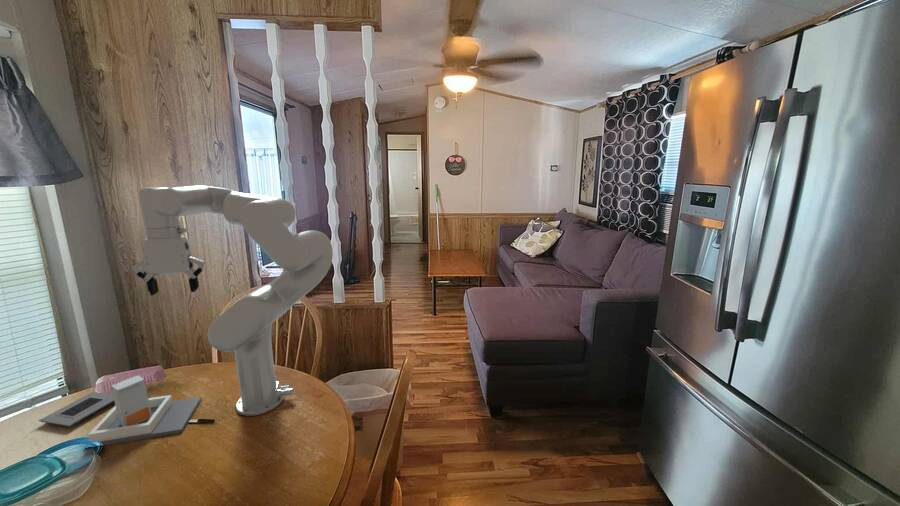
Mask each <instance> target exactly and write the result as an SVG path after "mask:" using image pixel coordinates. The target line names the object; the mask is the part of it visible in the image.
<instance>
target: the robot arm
mask: <svg viewBox="0 0 900 506" xmlns="http://www.w3.org/2000/svg"><path fill="white" fill-rule="evenodd" d="M137 194H138V199H139V204H140V205H139V206H140V210H141V215H142V221H143V225H144V231H145V236H146V238H144V243H143V258H144V259H143V260H141V261H140V262H137V263H136V264H133V265H132V266H131V267H130V268H131V269H132V270H133V272H135V274H136V276H138V277H139V278H140V279H142V280H143V281H144V282H146V286H147V290H148V292H149V295H150V296H155V294H157V293H159V286H158V280H157V278H155V276H158V275H171V274H172V275H173V274H183V273H184V274H186V275H187V276H188V277H189V278H188V285H189V289H190V293H194V292H196V291H197V290H198V289H199V287H200V283H199V277H198V276H199V275H200V274H201V273H202V272H203V271H204V269H205V266H206V264H207V261H206V260H202V259H200V258H197V257H194V256H193V254H192V253H193V252H192V249H191V247H190V244H189V241H188V239H187V237H186V235H183V234H186V233H187V231H188V230H187V228H186V227H182V225H181V224H180V219H179V217H185V216H191V215H198V214H202V213H213V214H220V215H223V217H224V219H225V220H226V221H227V222H228V223H230V224H231V225H236V226H242V227H243V229H244V230H245V232H246V233H247V234H248V235H249V237H250V238H251V239H252V240H253V242H255V243H256V244H257V246H258V247H260V249H261V250H262V251H263V252H264V253H265V254H266V255H267V256H268V258H270V259H271V261H273V263H274V264H275V265H277V266H278V267H279V268H281V269H282V270H284V271H283V272H282V273H280V274H279V275H278V276H277V277H276V278H274V279H273V280H272V281H270V282H269V283H267V284H264V285H263V286H260V287H259V288H257V289H255V290H253V291H251V292H249V293H248V294H245V295H244V296H242V297H241V298H240V299H239V300H237V301H236V302H235V303H232V305H231V306H230V307H229V308H228V309H226V310H225V311H224V312H222V313H221V314H220V315H219V316H217V317H216V318H215V319H214V320H213V321H212V323H211V324H210V325H209V327H208V330H207V339H208V343H209V344H210V345H211V347H212V348H214V350H217V351H220V352H224V353H226V352H227V353H229V352H234V358H235V366H236V372H237V379H238V385H239V386H238V387H239V393H240V398H239V399H238V401H237V402H236V404H235V408H236V411H237V413H238V414H240V415H243V416H246V417H251V416H252V417H253V416H258V415H259V416H260V415H263V414H266V413H268V412H270V411H272V410H274V409H275V408H277V407H278V406H279V405H280V404H281V403H282V401H283V400H284V396H292V395H294V393H293V391H294V390H293V389H294V388H293V387H290V384H287V385H285V384H284V385H281V384H280V381H279V380H278V381H277V379H276V372H275V371H276V370H275V362H274V355H273V353H274V352H273V345H272V344H273V343H272V329H273V327H272V326H273V323H275V322H276V321H277V320H279V319H280V318H281V317H282V316H284V315H285V314H286V312H288V311H289V310H290V309H291V308H292V307H293V306H294V305H295V304H296V303H298V302H299V301H300V300H301V299H302V298H304V297H305V296H306V295H307V294H308V293H310V292H311V291H312V290H314V288H316V286H318V285H319V284H320V283H321V282H322V280H323V279H324V278H325V277H326V276H327V274H328V272H329V270H330V268H331V266H332V263H333V256H334V252H333V246H332V243H331V240H330V238H329V237H328V235H326V234H325V233H323V232H322V231H319V230H314V229H313V230H311V229H310V230H306V231H301V232H298V233H296V234H293V233H292V232H291V231H290V230H289V229H288V228H290V227H291V226H292V224H293V223H294V221H295V219H296V209H295V207H294V206H293V205H292V203H291V202H290V201H288V200H286V199H284V198H280V197H276V196H268V195H261V194H253V193H245V192H239V191H235V190H233V189H230V188H225V187H216V186H208V185H188V186H187V185H186V186H176V187H175V186H174V187H173V186H172V187H167V186H149V187H142V188H140V189H139V190H138V192H137ZM195 265H197V268H196V269H195V268H194V267H195ZM143 266H145V270H146V271H145V270H143V269H142V267H143Z"/></svg>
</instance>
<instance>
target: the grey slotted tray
mask: <svg viewBox="0 0 900 506" xmlns="http://www.w3.org/2000/svg"><path fill="white" fill-rule="evenodd" d="M97 392H98V391H92V392H90V393H88V394H86V395H84V396H82V397H81V398H79V399H76V400H75V401H72V402H71V403H69V404H67V405H65V406H62V407H61V408H59V409H58V410H56V411H53V412H52V413H50V414H48V415H46V416H45V417H43V418H40V419H38V422H41V423H46V424H47V423H48V424H52V425H59V426H64V427H73V426H75V425H77V424H78V423H80V422H82V421H83V420H85V419H86V418H88V417H91V416H92V415H94V414H96V413H98V412H99V411H101V410H103V409H104V408H106V407H108V406H110V405H111V404H113V403H115V402H114V397H113V393H106V392H101V393H97Z"/></svg>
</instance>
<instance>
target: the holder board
mask: <svg viewBox="0 0 900 506" xmlns="http://www.w3.org/2000/svg"><path fill="white" fill-rule="evenodd" d="M148 399H149V404H150V410H151V415H152V417H151V418H150V419H147V420H145V421H143V422H141V423H138V424H136V425H130V426H124V427H122V426H121V425H120V424H119V420H118V415H117V411H116V406H115V405H114V406H113V407H112V408H111V409H110V410H109V412H107V414H106V415H105V416H104V417H103V418H102V419H101V420H100V421H99V422H98V423H97V424H96V425H95V427H93V428H92V430H90V431H89V433H88V434H87V436H88V440H89V441H90V442H95V441H100V442H101V443H102V444H103V446H109V445H115V444H119V443H120V444H121V443H126V442H127V443H128V442H133V441H137V440H138V441H139V440H145V439H150V438H156V437H162V436H169V435H174V434H179V433H183V432H184V430H185V428H186V426H187V424H188V423H189V422H188V421H190V420H191V418H192V417H193V415H194V413H195V412H196V410H197V409H198V407H199V405H200V403H201V402H202V397H193V398H187V399H186V398H185V399H181V400H173V395H172V394H169V395H162V396H155V397H148Z"/></svg>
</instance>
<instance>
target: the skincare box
mask: <svg viewBox="0 0 900 506" xmlns="http://www.w3.org/2000/svg"><path fill="white" fill-rule="evenodd" d="M110 388H111V394H113V397H114V402H113V403H114V406H116V411H117V415H118V420H119V424H120V425H121V426H122V427H124V426H130V425H136V424H138V423H141V422H143V421H145V420H147V419H150V418H151V417H152V415H151V410H150V404H149V399H148V398H149V395H148V390H147V384H146V380H145V378H143V377H142V376H140V375H139V374H138V375H136V376H132V377H129V378H126V379H124V380H122V381H120V382H117V383H114V384H112V385H110Z"/></svg>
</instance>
